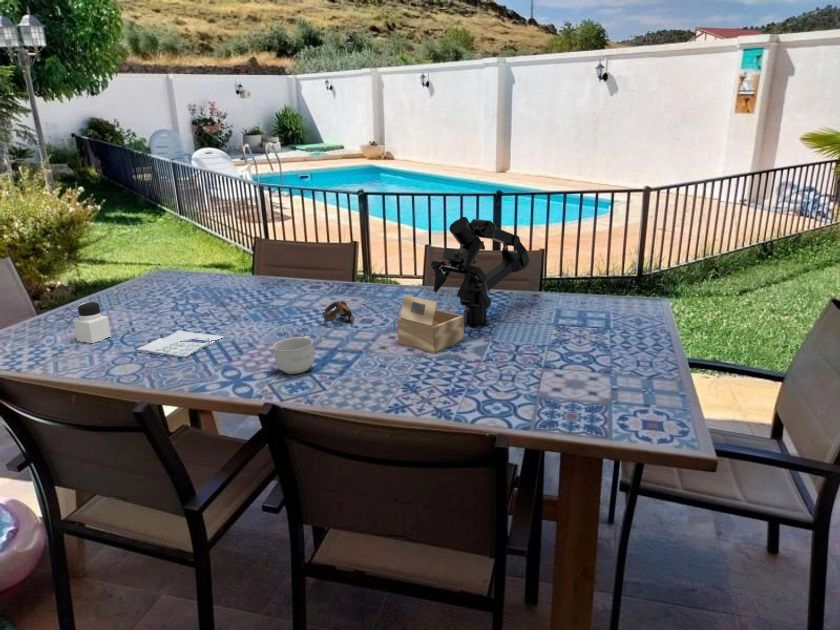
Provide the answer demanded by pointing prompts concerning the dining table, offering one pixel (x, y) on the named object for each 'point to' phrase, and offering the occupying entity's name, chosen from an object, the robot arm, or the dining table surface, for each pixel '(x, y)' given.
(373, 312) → the dining table surface
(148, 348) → the white open book
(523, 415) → the dining table surface
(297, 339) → the teacup
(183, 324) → the dining table surface
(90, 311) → the medicine bottle
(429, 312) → the flap
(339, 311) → the brown wooden arch
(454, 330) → the tan wooden open box
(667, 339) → the dining table surface
